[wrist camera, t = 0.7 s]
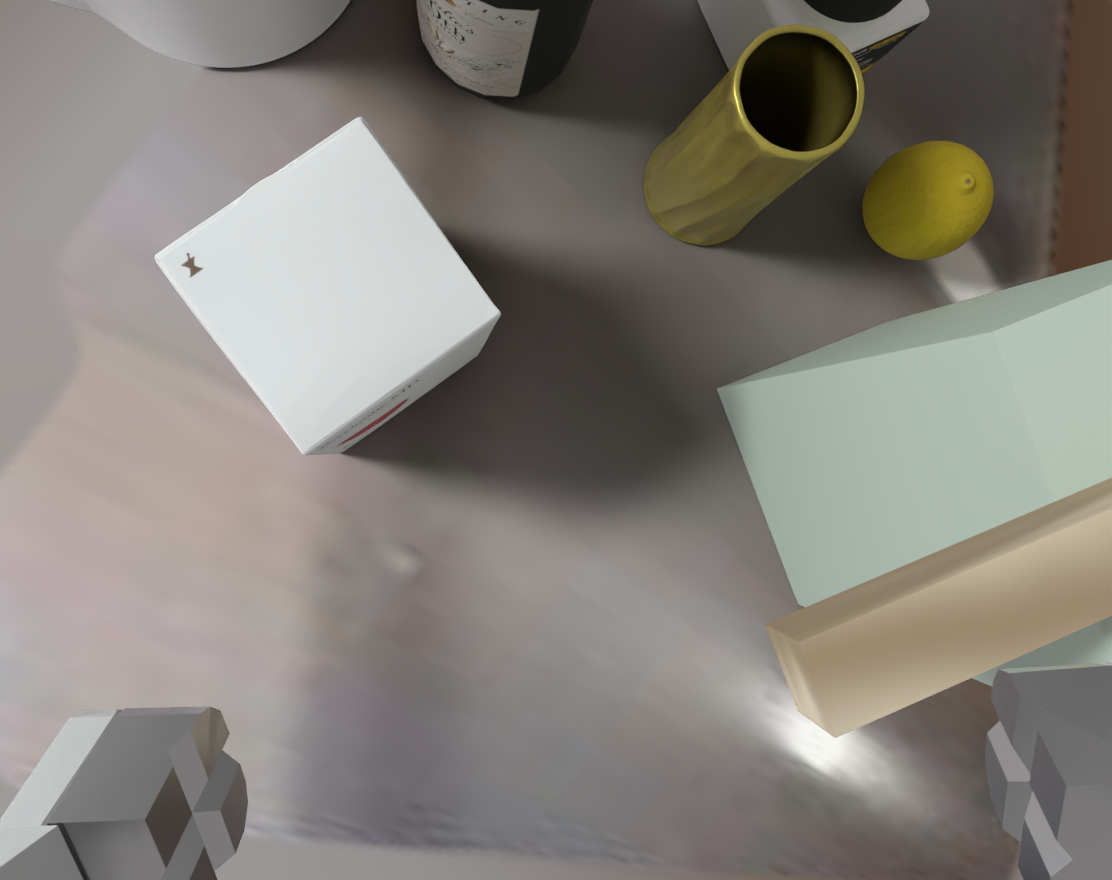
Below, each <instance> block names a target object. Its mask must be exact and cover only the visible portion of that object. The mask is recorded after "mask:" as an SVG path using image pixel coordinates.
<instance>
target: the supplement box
mask: <svg viewBox="0 0 1112 880" xmlns="http://www.w3.org/2000/svg"><path fill="white" fill-rule="evenodd" d="M155 260H156V262H157V264H158V265H159V267H160V268H161V270H162V271H163V272H164V274H165V275H166V277H167V278H168V279H169V281H170V282H171V284H172V285H173V286H174V288H175V289H176V290H177V292H178V293H179V294H180V296H181V297H182V299H183V300H184V301H185V303H186V304H187V305H188V307H189V308H190V309H191V311H192V312H193V313H194V315H195V316H196V317H197V319H198V320H199V321H200V323H201V324H202V325H203V327H204V328H205V329H206V331H207V332H208V333H209V334H210V336H211V337H212V338H213V340H214V341H215V342H216V343H217V345H218V346H219V347H220V349H221V350H222V351H223V352H224V354H225V355H226V356H227V358H228V359H229V360H230V361H231V363H232V364H233V365H234V367H235V368H236V369H237V370H238V372H239V373H240V374H241V376H242V377H243V378H244V379H245V381H246V382H247V383H248V384H249V386H250V387H251V388H252V389H253V391H254V392H255V393H256V395H257V396H258V397H259V398H260V400H261V401H262V402H263V403H264V405H265V406H266V407H267V408H268V410H269V411H270V412H271V414H272V415H273V416H274V417H275V419H276V420H277V421H278V422H279V424H280V425H281V426H282V428H283V429H284V430H285V432H286V433H287V434H288V435H289V437H290V438H291V439H292V441H293V442H294V443H295V445H296V446H297V447H298V449H299V450H300V451H301V453H302V454H303V455H320V454H335V453H342V452H344V451H345V450H347V449H348V448H350V447H351V446H353V445H354V444H356V443H357V442H358V441H360V440H361V439H363V438H364V437H365V436H367V435H368V434H370V433H371V432H373V431H374V430H375V429H377V428H378V427H380V426H381V425H383V424H384V423H385V422H387V421H388V420H389V419H391V418H392V417H394V416H395V415H396V414H398V413H399V412H401V411H402V410H403V409H405V408H406V407H408V406H409V405H410V404H412V403H413V402H414V401H416V400H417V399H419V398H420V397H421V396H423V395H424V394H426V393H427V392H428V391H430V390H431V389H433V388H434V387H435V386H437V385H438V384H439V383H441V382H442V381H444V380H445V379H446V378H448V377H449V376H450V375H452V374H453V373H455V372H456V371H457V370H459V369H460V368H461V367H463V366H464V365H465V364H467V363H468V362H470V361H471V360H472V359H474V358H475V357H476V356H477V355H478V354H479V353H480V351H481V349H482V348H483V346H484V344H485V342H486V341H487V339H488V337H489V335H490V333H491V331H492V329H493V327H494V326H495V324H496V322H497V321H498V319H499V318H500V316H501V313H500V311H499V310H498V308H497V307H496V306H495V305H494V304H493V302H492V301H491V300H490V298H489V297H488V295H487V294H486V293H485V291H484V290H483V288H482V287H481V286H480V284H479V283H478V281H477V280H476V279H475V277H474V276H473V275H472V273H471V272H470V270H469V269H468V268H467V266H466V265H465V263H464V262H463V261H462V259H461V258H460V256H459V255H458V253H457V252H456V251H455V249H454V248H453V246H452V245H451V243H450V242H449V241H448V239H447V238H446V236H445V235H444V233H443V232H442V230H441V229H440V228H439V226H438V225H437V223H436V222H435V220H434V219H433V217H432V216H431V215H430V213H429V212H428V210H427V209H426V207H425V206H424V205H423V203H422V202H421V200H420V199H419V197H418V196H417V194H416V193H415V191H414V190H413V188H412V187H411V185H410V184H409V182H408V181H407V179H406V178H405V176H404V175H403V173H402V172H401V171H400V169H399V168H398V166H397V165H396V163H395V162H394V160H393V159H392V157H391V156H390V155H389V153H388V152H387V150H386V149H385V147H384V146H383V144H382V143H381V142H380V140H379V139H378V137H377V136H376V134H375V133H374V132H373V130H372V129H371V127H370V126H369V124H368V123H367V122H366V120H365V119H364V118H363V117H358V118H356V119H354V120H353V121H351V122H350V123H348V124H347V125H345V126H344V127H342V128H341V129H339V130H338V131H336V132H335V133H333V134H332V135H331V136H329V137H328V138H326V139H325V140H323V141H322V142H320V143H319V144H317V145H316V146H314V147H313V148H311V149H310V150H309V151H307V152H306V153H304V154H303V155H301V156H300V157H298V158H297V159H295V160H294V161H292V162H291V163H289V164H288V165H286V166H285V167H283V168H282V169H280V170H279V171H277V172H276V173H274V174H273V175H271V176H269V177H267V178H264V179H263V180H261V181H260V182H258V183H257V184H255V185H254V186H252V187H251V188H250V189H249V190H248V191H246V192H245V193H244V194H243V195H242V196H241V197H239V198H238V199H236V200H235V201H233V202H232V203H230V204H229V205H227V206H226V207H225V208H223V209H222V210H220V211H219V212H217V213H216V214H214V215H213V216H211V217H210V218H208V219H207V220H206V221H204V222H203V223H201V224H200V225H198V226H197V227H195V228H193V229H192V230H190V231H189V232H187V233H186V234H184V235H183V236H182V237H180V238H179V239H177V240H176V241H174V242H173V243H172V244H170V245H169V246H167V247H166V248H164V249H163V250H162V251H160V252H159V253H158V254H156V255H155Z"/></svg>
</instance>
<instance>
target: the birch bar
mask: <svg viewBox="0 0 1112 880" xmlns="http://www.w3.org/2000/svg"><path fill="white" fill-rule="evenodd" d="M1110 616H1112V478H1110V479H1107V480H1105V481H1102V482H1100V483H1098V484H1095V485H1093V486H1091V487H1088V488H1086V489H1084V490H1081V491H1079V492H1076V493H1074V494H1072V495H1069V496H1067V497H1065V498H1062V499H1060V500H1058V501H1055V502H1053V503H1051V504H1048V505H1046V506H1043V507H1041V508H1039V509H1036V510H1034V511H1032V512H1029V513H1027V514H1025V515H1022V516H1020V517H1017V518H1015V519H1013V520H1010V521H1008V522H1006V523H1003V524H1001V525H999V526H996V527H994V528H991V529H989V530H987V531H984V532H982V533H980V534H977V535H975V536H973V537H970V538H968V539H966V540H963V541H961V542H958V543H956V544H954V545H951V546H949V547H947V548H944V549H942V550H940V551H937V552H935V553H932V554H930V555H928V556H925V557H923V558H921V559H918V560H916V561H914V562H911V563H909V564H907V565H904V566H902V567H899V568H897V569H895V570H892V571H890V572H888V573H885V574H883V575H881V576H878V577H876V578H873V579H871V580H869V581H866V582H864V583H862V584H859V585H857V586H855V587H852V588H850V589H847V590H845V591H843V592H840V593H838V594H836V595H833V596H831V597H829V598H826V599H824V600H822V601H819V602H817V603H814V604H812V605H810V606H807V607H805V608H803V609H800V610H798V611H796V612H793V613H791V614H788V615H786V616H784V617H781V618H779V619H777V620H774V621H772V622H770V623H767V624H765V625H766V628H767V631H768V633H769V636H770V638H771V641H772V644H773V646H774V649H775V652H776V654H777V657H778V660H779V662H780V665H781V667H782V670H783V673H784V675H785V678H786V681H787V683H788V686H789V689H790V691H791V694H792V696H793V699H794V702H795V704H796V707H797V710H798V712H800V713H801V714H803V715H804V716H805V717H807V718H808V719H810V720H811V721H812V722H814V723H815V724H817V725H818V726H819V727H821V728H822V729H823V730H825V731H826V732H828V733H829V734H830V735H832V736H833V737H835V738H836V737H838V736H841V735H843V734H845V733H848V732H850V731H852V730H854V729H857V728H859V727H861V726H863V725H866V724H868V723H870V722H872V721H875V720H877V719H879V718H881V717H884V716H886V715H888V714H891V713H893V712H895V711H897V710H900V709H902V708H904V707H906V706H909V705H911V704H913V703H915V702H918V701H920V700H922V699H924V698H927V697H929V696H931V695H934V694H936V693H938V692H940V691H943V690H945V689H947V688H949V687H952V686H954V685H956V684H958V683H961V682H963V681H965V680H967V679H970V678H972V677H974V676H976V675H979V674H981V673H983V672H986V671H988V670H990V669H992V668H995V667H997V666H999V665H1001V664H1004V663H1006V662H1008V661H1010V660H1013V659H1015V658H1017V657H1019V656H1022V655H1024V654H1026V653H1029V652H1031V651H1033V650H1035V649H1038V648H1040V647H1042V646H1044V645H1047V644H1049V643H1051V642H1053V641H1056V640H1058V639H1060V638H1062V637H1065V636H1067V635H1069V634H1072V633H1074V632H1076V631H1078V630H1081V629H1083V628H1085V627H1087V626H1090V625H1092V624H1094V623H1096V622H1099V621H1101V620H1103V619H1105V618H1108V617H1110Z"/></svg>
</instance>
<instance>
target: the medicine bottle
mask: <svg viewBox="0 0 1112 880" xmlns="http://www.w3.org/2000/svg"><path fill="white" fill-rule="evenodd" d="M698 4H699V6H700V8H701V10H702V13H703V15H704V17H705V19H706V21H707V24H708V26H709V28H710V30H711V32H712V35H713V37H714V39H715V41H716V43H717V46H718V48H719V50H720V52H721V54H722V57H723V59H724V61H725V63H726V65H727V68H728V70H730V69H731V68H732V67H733V66H734V64H735V63H736V62H737V60H738V59H739V57H740V56H741V55H742V53H743V52H744V51H745V49H746V48H747V47H748V46H749V45H750V44H751V43H752V42H753V41H754V40H755V38H756V37H758V36H759V35H760V34H762V33H763V32H765V31H767V30H770V29H772V28H776V27H780V26H784V25H792V24H795V25H804V26H811V27H817V28H819V29H822V30H825V31H826V32H828V33H830V34H832V35H834V36H835V37H837V38H838V39H839V40H840V41H841V42H842V43H843V44H844V45H845V46H846V47H847V49H848V50H849V51H850V53H851V54H852V55H853V57H854V58H855V59H856V61H857V63H858V65H859V68H860V70H861V73H863V72H865V71H867V70H868V69H869V68H870V67H871V66H873V65H874V64H875V63H876V62H877V61H878V60H879V59H881V58H882V57H883V56H884V55H885V54H886V53H888V52H889V51H890V50H891V49H892V48H893V47H894V46H896V45H897V44H898V43H899V42H900V41H901V40H903V39H904V38H905V37H906V36H907V35H908V34H909V33H911V32H912V31H913V30H914V29H915V28H916V27H918V26H919V25H920V24H921V23H922V22H923V21H924V20H926V19H927V18H928V16H929V13H930V11H929V7H928V5H927V3H926V1H925V0H698Z"/></svg>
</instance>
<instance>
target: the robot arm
mask: <svg viewBox="0 0 1112 880" xmlns="http://www.w3.org/2000/svg"><path fill="white" fill-rule="evenodd" d="M50 1H53V2H55V3H59V4H62V5H65V6H68V7H72V8H76V9H81V10H85V11H89V12H94V13H96V14H97V15H99V16H101V17H103V18H105V19H106V20H108V21H109V22H111V23H113V24H114V25H115V26H116V27H118V28H119V29H120V30H122V31H123V32H125V33H126V34H127V35H129V36H130V37H132V38H133V39H134V40H136V41H138V42H139V43H141V44H142V45H144V46H146V47H148V48H150V49H151V50H154V51H156V52H158V53H160V54H162V55H165V56H167V57H170V58H173V59H175V60H179V61H182V62H186V63H190V64H195V65H200V66H207V67H219V68H233V67H245V66H252V65H257V64H262V63H266V62H269V61H273V60H276V59H278V58H281V57H284V56H286V55H288V54H291V53H293V52H295V51H297V50H298V49H300V48H302V47H304V46H305V45H307V44H308V43H310V42H312V41H313V40H314V39H316V38H317V37H318V36H320V35H321V34H322V33H323V32H324V31H325V30H326V29H328V28H329V27H330V26H331V25H332V24H333V23H334V21H335V20H336V19H337V18H338V17H339V16H340V14H341V13H342V12H343V11H344V9H345V8H346V6H347V5H348V4H349V2H350V0H50ZM991 701H992V703H993V705H994V708H995V710H996V712H997V714H998V717H999V719H1000V721H999V722H998V723H997V724H996V725H995V726H994V727H993V728H992V729H991V730H990V731H989V732H988V733H987V740H986V753H985V763H986V772H987V781H988V788H989V791H990V795H991V799H992V802H993V806H994V809H995V811H996V814H997V817H998V819H999V822H1000V824H1001V827H1002V829H1004V830H1005V831H1006V832H1008V833H1009V834H1010V835H1012V836H1013V837H1014V838H1016V839H1017V840H1018V841H1020V842H1021V846H1020V854H1019V862H1018V868H1019V870H1020V873H1021V875H1022V877H1023V880H1112V662H1104V663H1102V664H1080V665H1062V666H1043V667H1025V668H1007V669H998V671H997V673H996V675H995V678H994V680H993V687H992V694H991ZM228 736H229V731H228V729H227V726H226V724H225V721H224V719H223V716H222V714H221V711H220V710H217V709H215V708H212V707H171V708H128V709H124V710H82V711H81V712H79V713H77V714H75V715H74V716H72V717H70V718H69V719H68V720H67V722H66V723H65V725H64V726H63V728H62V729H61V731H60V732H59V734H58V735H57V737H56V738H55V739H54V741H53V742H52V744H51V745H50V747H49V748H48V750H47V751H46V753H45V754H44V756H43V757H42V759H41V760H40V761H39V763H38V764H37V766H36V767H35V769H34V770H33V772H32V773H31V775H30V776H29V778H28V779H27V781H26V782H25V783H24V785H23V786H22V788H21V789H20V791H19V792H18V794H17V795H16V797H15V798H14V800H13V801H12V803H11V804H10V805H9V807H8V808H7V810H6V811H5V813H4V815H3V816H2V817H1V819H0V880H217V878H216V875H215V872H214V871H215V870H217V869H218V868H219V867H220V866H221V865H222V864H224V863H225V862H226V861H227V860H228V859H229V858H231V857H232V856H233V855H234V854H235V853H236V851H237V848H238V845H239V843H240V840H241V837H242V835H243V832H244V828H245V821H246V813H247V805H248V799H247V789H246V781H245V778H244V775H243V772H242V769H241V766H240V764H239V763H238V762H237V761H235V760H234V759H233V758H231V757H230V756H229V755H228V754H226V753H225V752H224V751H223V750H222V749H223V747H224V744H225V742H226V740H227V738H228Z"/></svg>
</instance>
